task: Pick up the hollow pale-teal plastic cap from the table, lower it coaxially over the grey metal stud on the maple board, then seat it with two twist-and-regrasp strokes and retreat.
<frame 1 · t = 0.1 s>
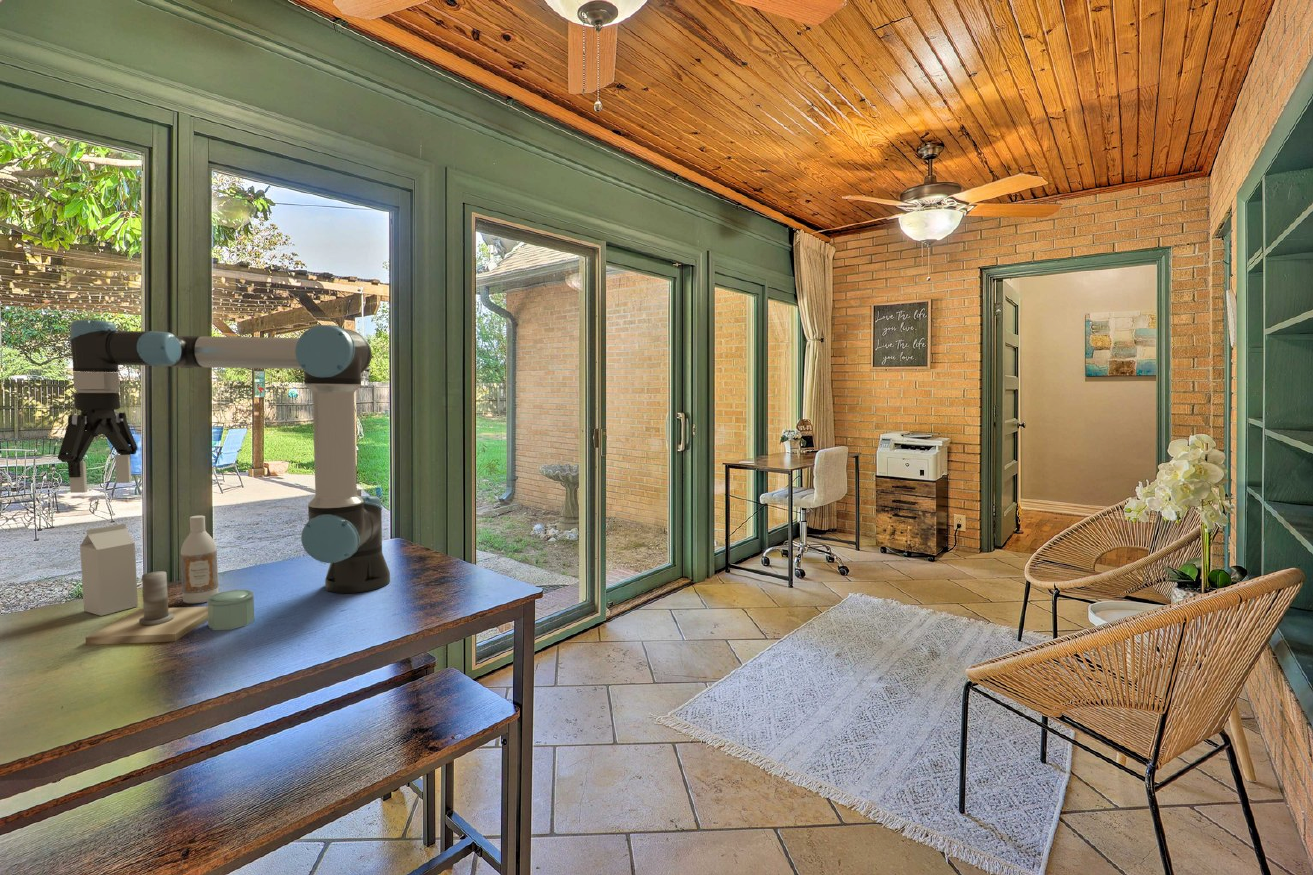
hand: (102, 487, 140), 28 cm above the table, fingers open, 13 cm apart
cap: (231, 623, 135), on the table
milk carton: (111, 610, 143), on the table
stud board: (157, 627, 132), on the table
bath foam: (201, 600, 150), on the table
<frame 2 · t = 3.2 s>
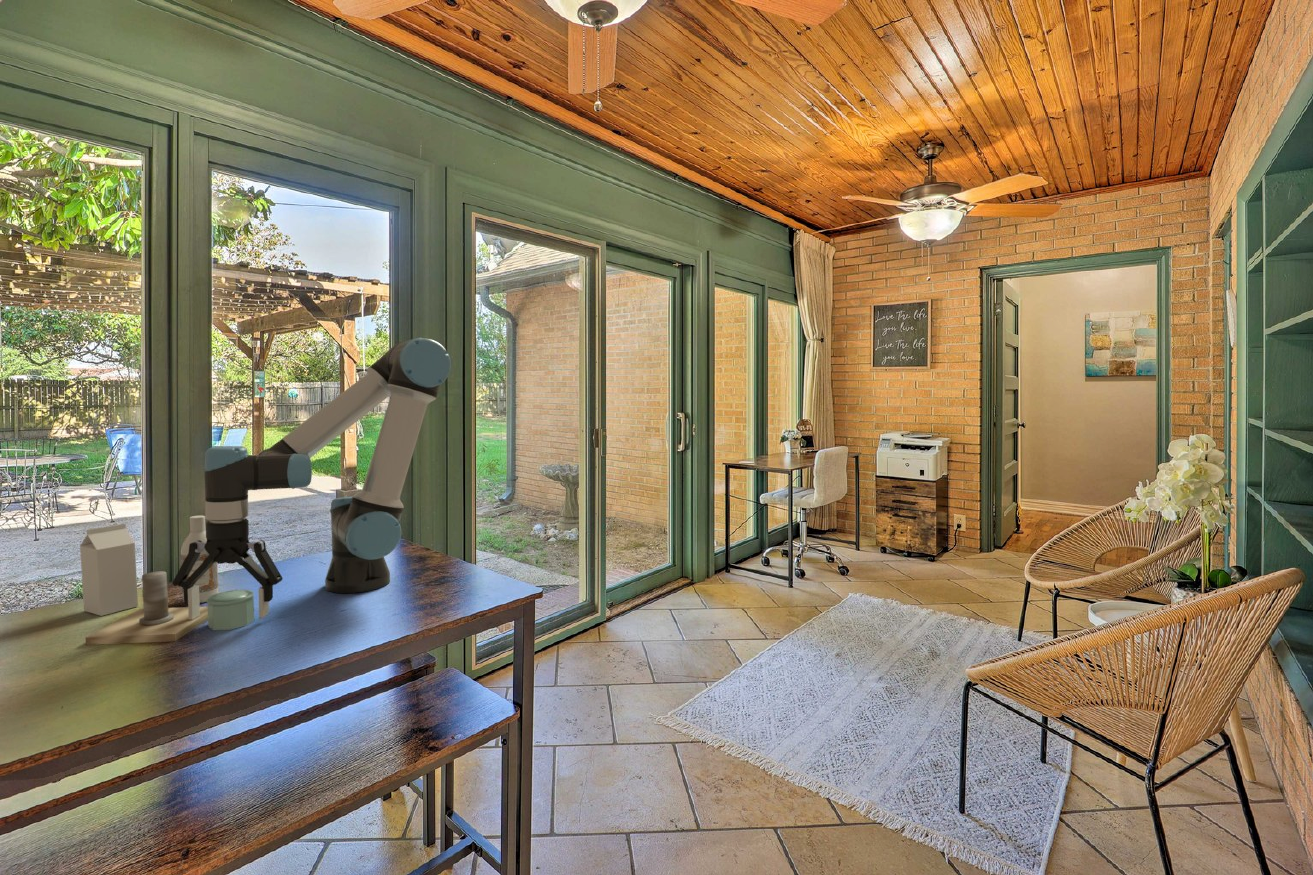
hand: (229, 617, 135), 1 cm above the table, fingers open, 13 cm apart
nothing on the table moved.
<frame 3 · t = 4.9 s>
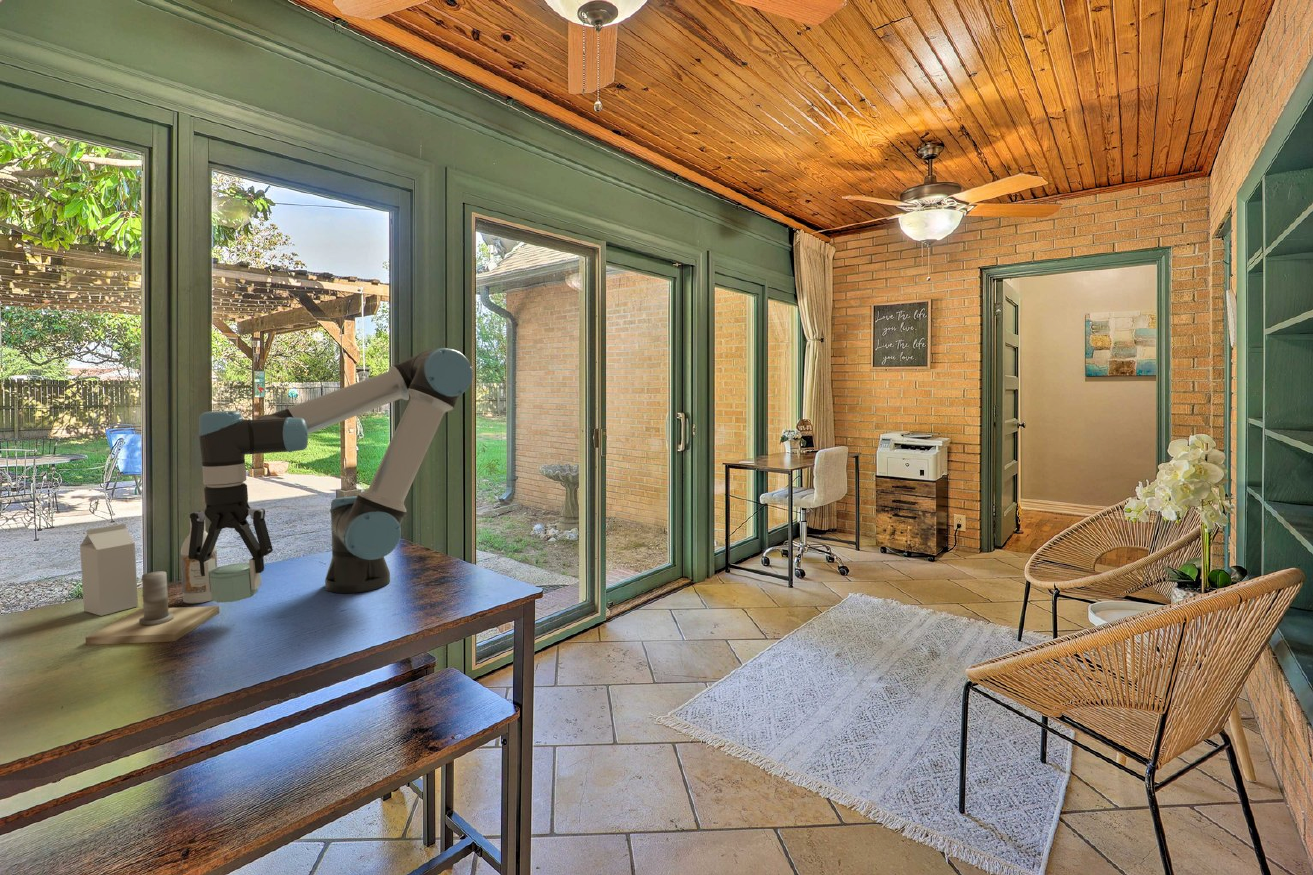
hand: (234, 588, 135), 7 cm above the table, fingers closed on cap, 8 cm apart
cap: (235, 595, 135), point 6 cm above the table, touching gripper
everything else where it was.
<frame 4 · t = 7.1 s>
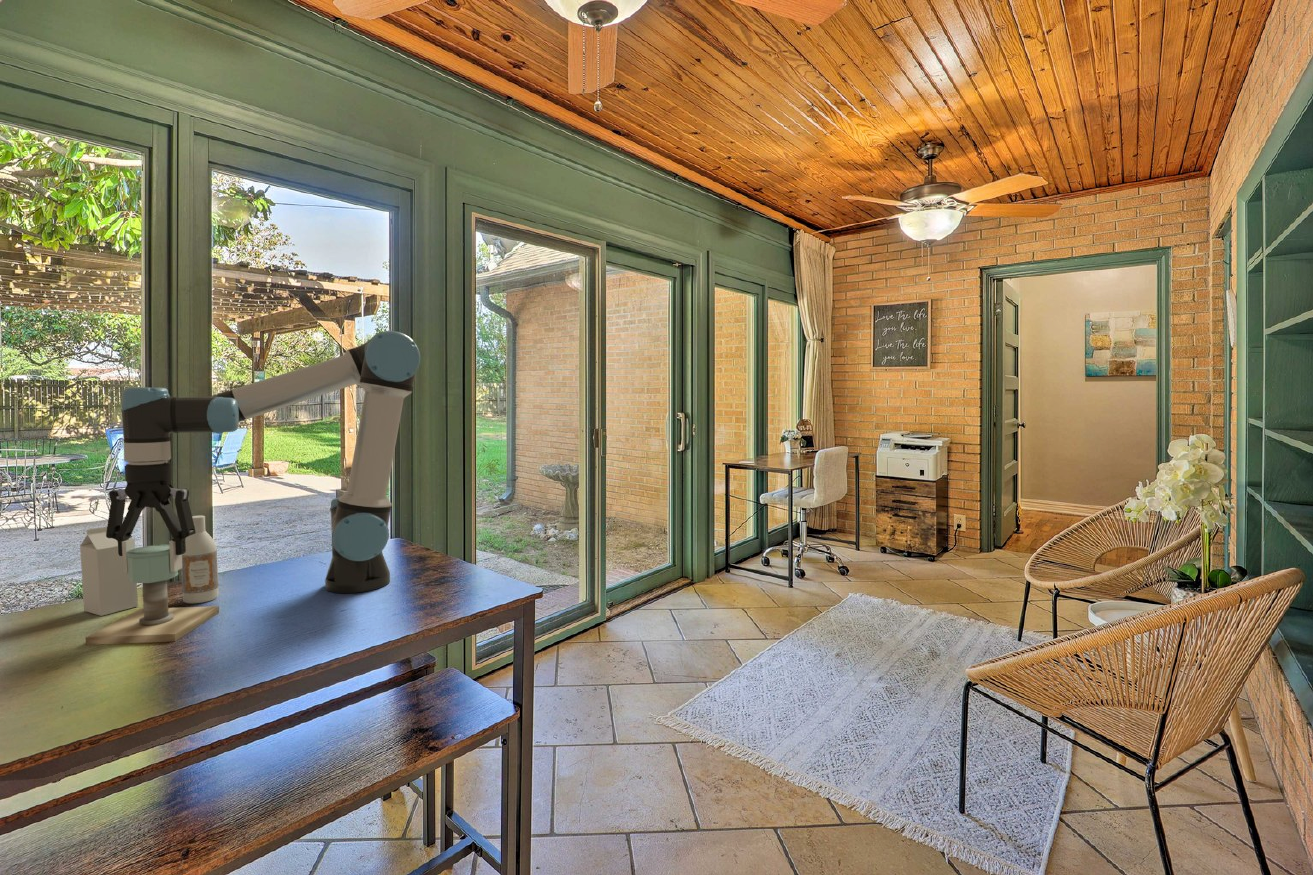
hand: (153, 570, 131), 12 cm above the table, fingers closed on cap, 8 cm apart
cap: (153, 577, 131), point 11 cm above the table, touching gripper
everything else where it was.
when the fingers open (6 cm above the table, at t = 9.4 s): cap stays where it is, resting on stud board.
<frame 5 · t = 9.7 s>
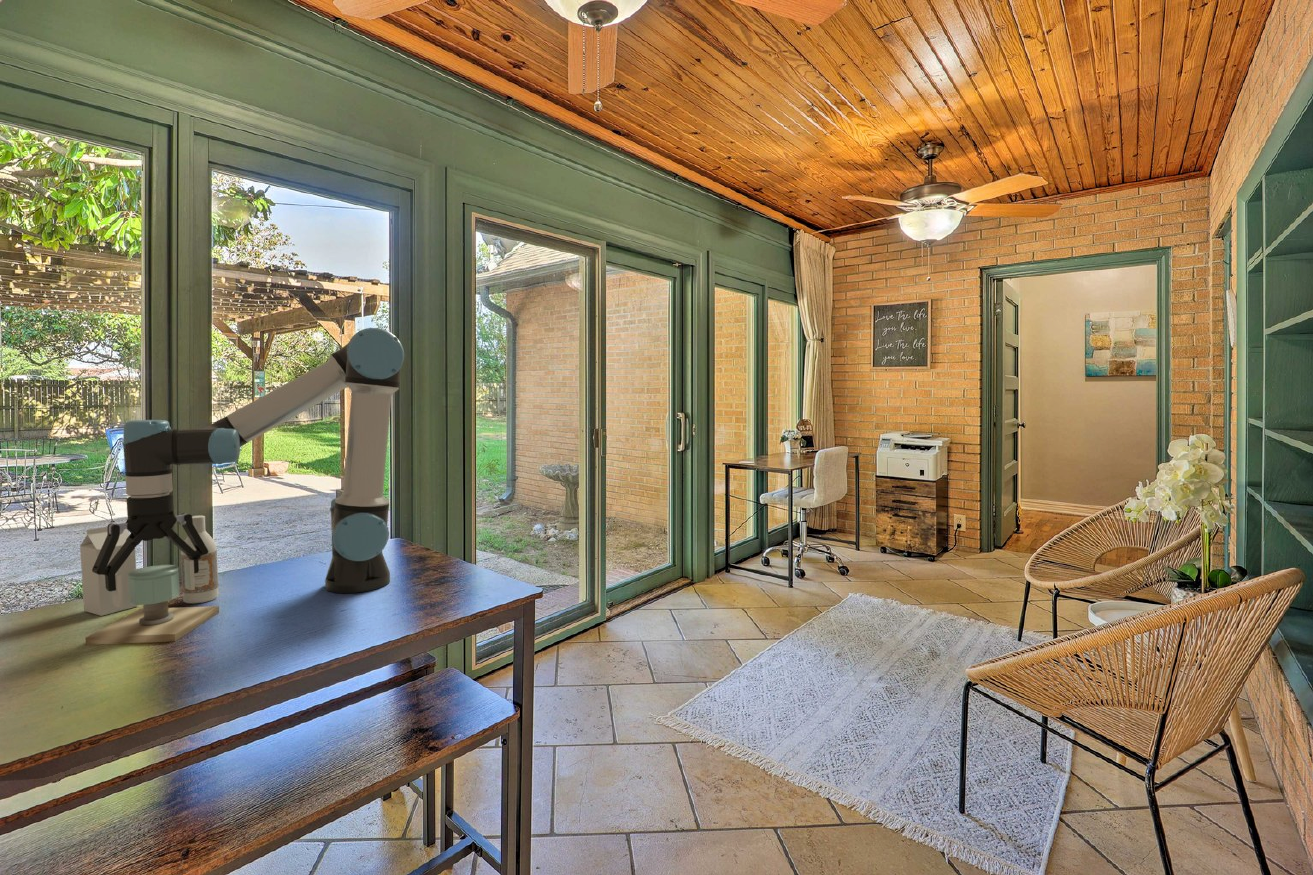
hand: (155, 597, 132), 7 cm above the table, fingers open, 12 cm apart
cap: (155, 598, 132), point 6 cm above the table, touching stud board
everything else where it was.
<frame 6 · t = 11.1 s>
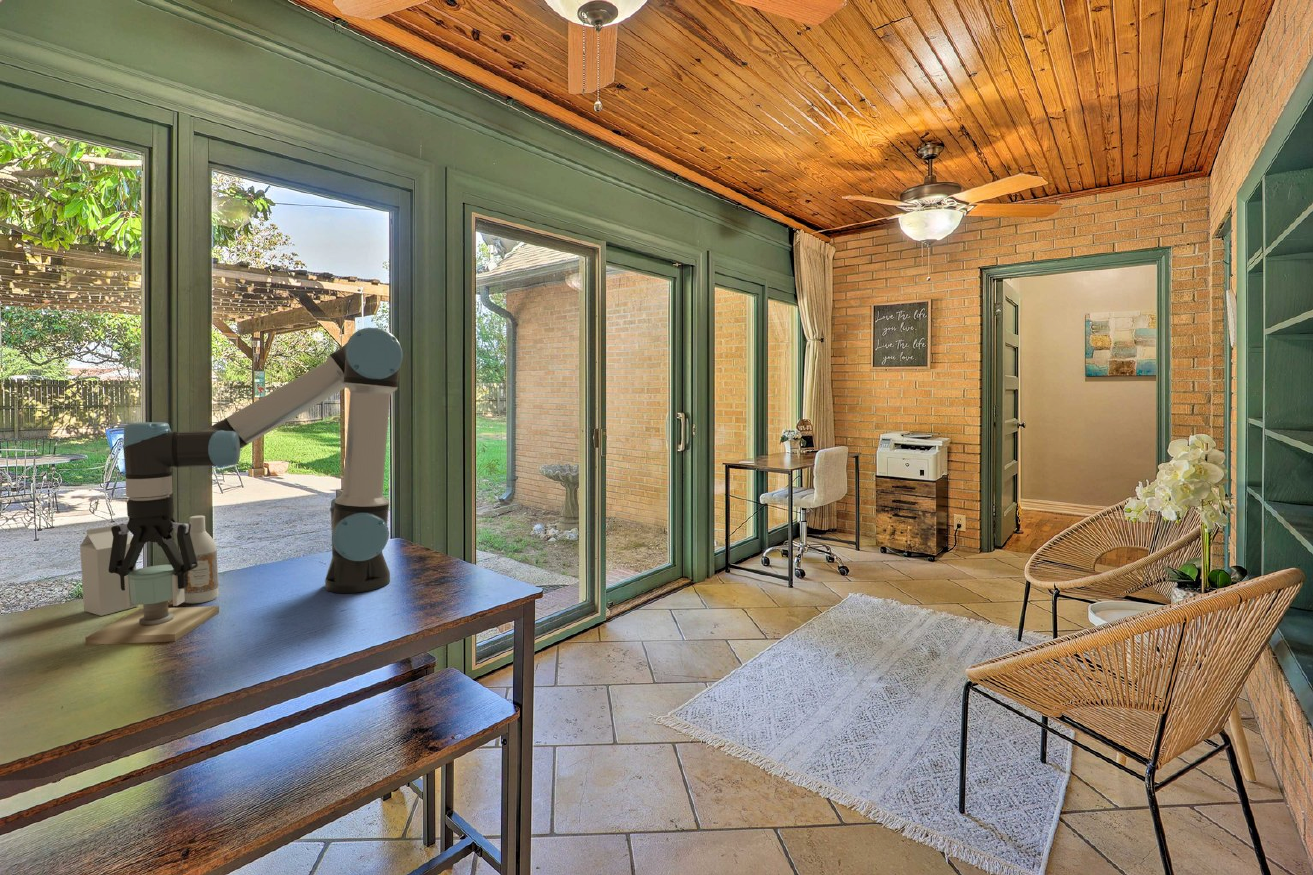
hand: (155, 604, 132), 5 cm above the table, fingers closed on cap, 8 cm apart
cap: (156, 598, 132), point 6 cm above the table, touching gripper, stud board
everything else where it was.
when the fingers open (5 cm above the table, at t = 12.3 s): cap stays where it is, resting on stud board.
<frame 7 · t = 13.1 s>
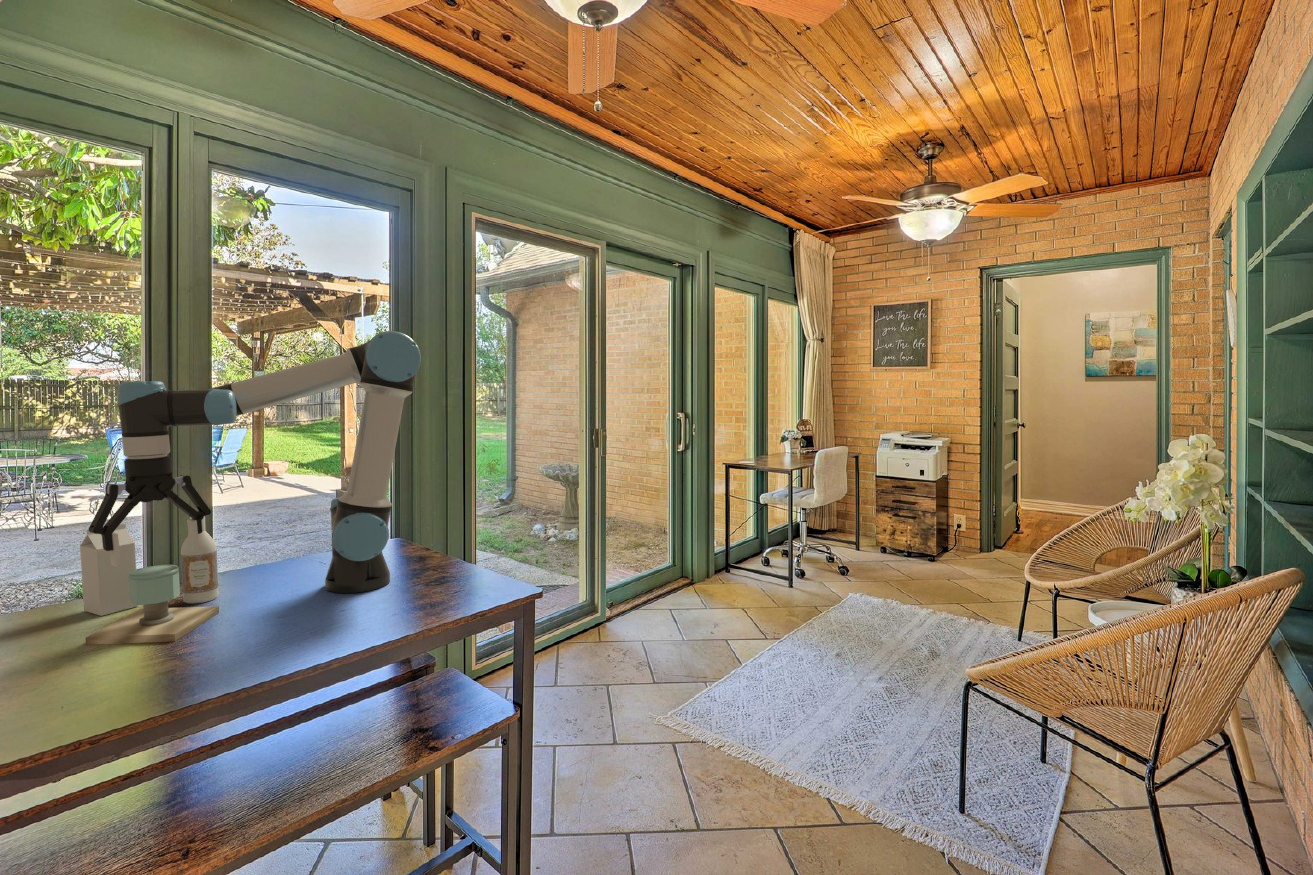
hand: (156, 557, 131), 15 cm above the table, fingers open, 13 cm apart
cap: (155, 598, 132), point 6 cm above the table, touching stud board
everything else where it was.
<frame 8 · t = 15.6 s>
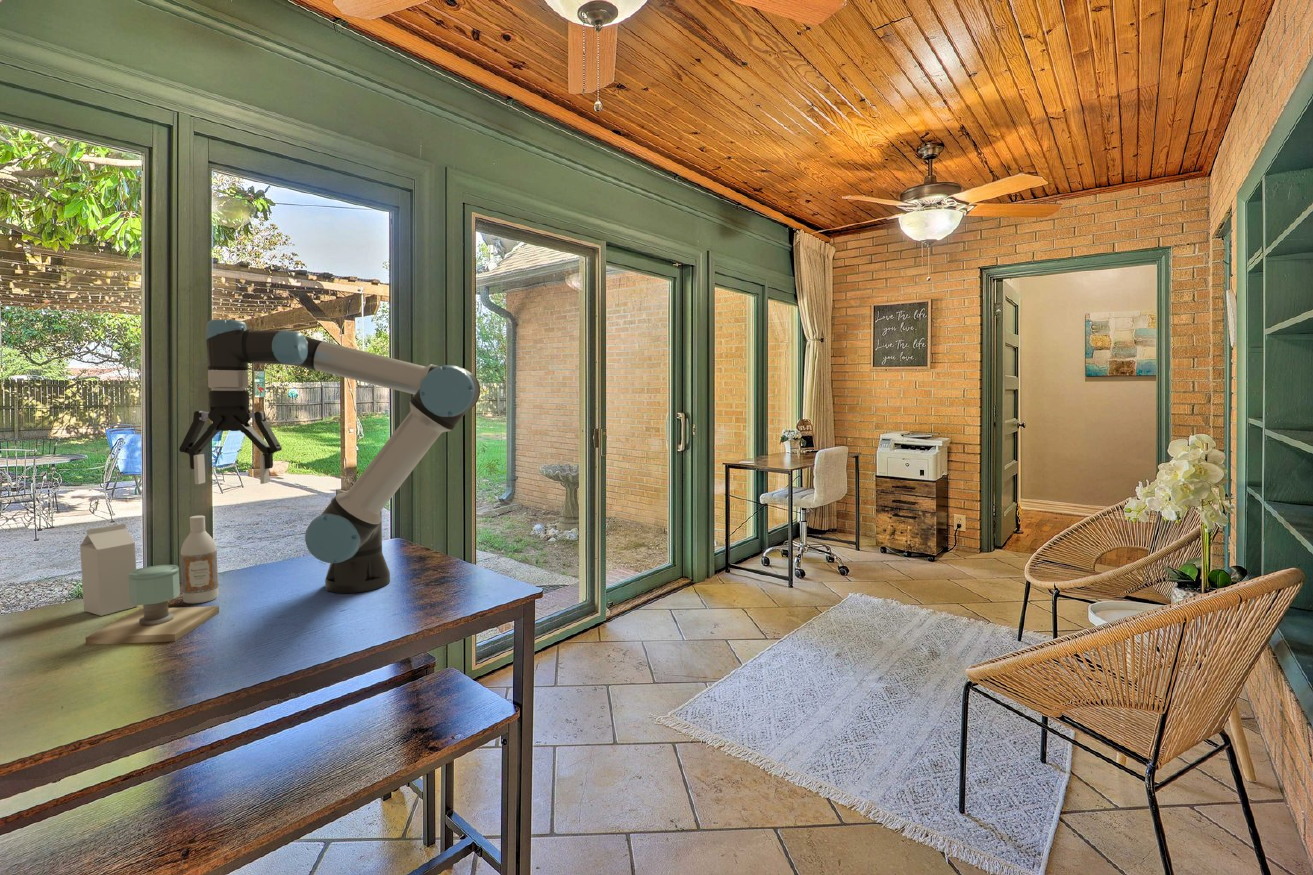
hand: (232, 483, 143), 29 cm above the table, fingers open, 13 cm apart
nothing on the table moved.
at the end: cap 0.1 cm off-centre on the stud board, point 6.3 cm above the stud board's base; cap tilted 0°; the gripper is holding nothing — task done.
